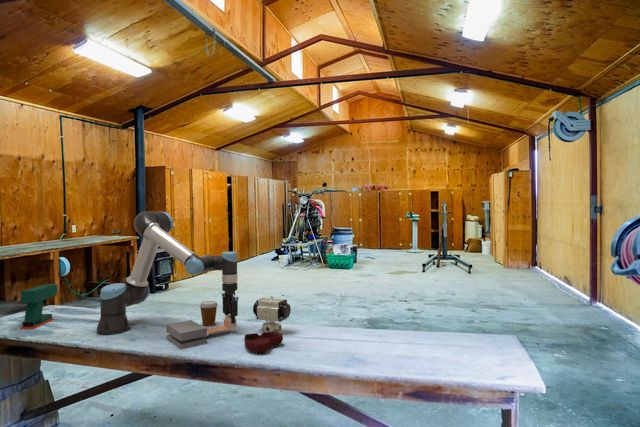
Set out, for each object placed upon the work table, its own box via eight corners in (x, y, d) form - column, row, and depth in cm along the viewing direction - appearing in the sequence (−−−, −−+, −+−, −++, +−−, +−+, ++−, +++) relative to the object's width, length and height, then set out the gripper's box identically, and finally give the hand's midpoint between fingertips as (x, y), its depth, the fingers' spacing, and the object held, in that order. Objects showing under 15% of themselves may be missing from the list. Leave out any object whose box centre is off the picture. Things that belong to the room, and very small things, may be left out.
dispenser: (181, 349, 175) (180, 333, 175) (166, 339, 190) (166, 324, 190) (209, 342, 183) (208, 327, 183) (192, 333, 198) (192, 319, 198)
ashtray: (257, 339, 188) (257, 329, 188) (286, 344, 181) (286, 333, 181) (232, 351, 173) (232, 339, 173) (262, 357, 165) (262, 345, 165)
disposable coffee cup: (212, 327, 209) (212, 304, 209) (196, 326, 211) (196, 304, 211) (221, 322, 218) (220, 301, 218) (205, 322, 220) (204, 300, 220)
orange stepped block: (204, 334, 188) (204, 326, 188) (198, 331, 194) (198, 323, 194) (237, 327, 199) (237, 319, 200) (231, 324, 205) (231, 317, 205)
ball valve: (251, 332, 199) (251, 297, 199) (260, 328, 207) (260, 294, 207) (283, 336, 192) (282, 299, 192) (291, 331, 200) (290, 296, 200)
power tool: (53, 314, 240) (53, 281, 240) (65, 314, 241) (65, 281, 241) (19, 329, 209) (19, 291, 209) (34, 329, 209) (33, 291, 210)
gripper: (215, 281, 205) (215, 326, 205) (230, 285, 192) (231, 334, 192) (228, 279, 210) (229, 324, 210) (244, 283, 197) (245, 331, 196)
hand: (230, 328), depth 201 cm, fingers closed on orange stepped block, 4 cm apart
